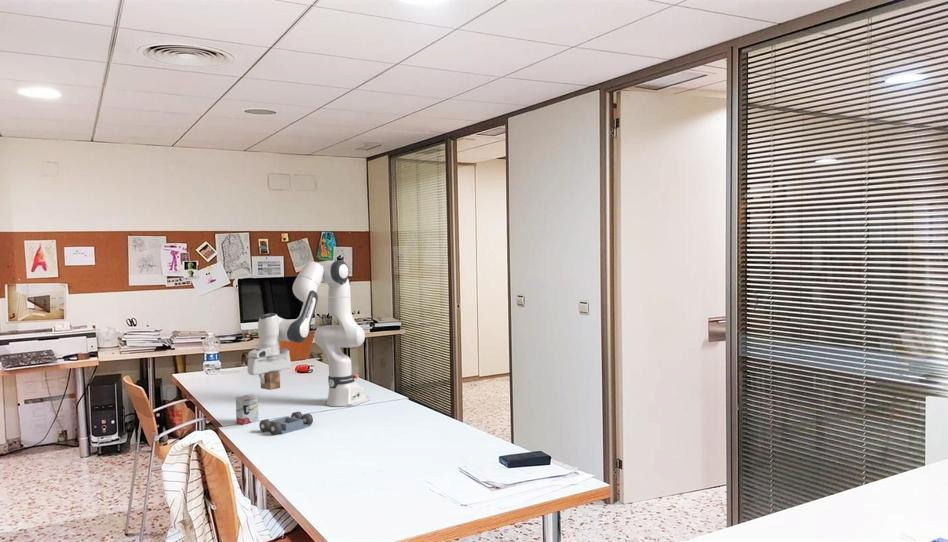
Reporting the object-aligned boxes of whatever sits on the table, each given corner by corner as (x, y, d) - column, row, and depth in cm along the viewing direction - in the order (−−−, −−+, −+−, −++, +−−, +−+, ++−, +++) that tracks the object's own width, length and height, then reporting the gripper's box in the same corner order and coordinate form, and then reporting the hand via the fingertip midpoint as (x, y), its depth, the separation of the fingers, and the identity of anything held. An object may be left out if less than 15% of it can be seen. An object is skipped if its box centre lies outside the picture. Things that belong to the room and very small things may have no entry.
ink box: (242, 425, 298) (241, 398, 298) (235, 423, 301) (235, 397, 301) (259, 421, 305) (258, 395, 305) (252, 419, 308) (251, 393, 308)
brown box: (270, 386, 301) (269, 368, 301) (280, 387, 297) (279, 370, 297) (260, 388, 297) (260, 370, 297) (270, 389, 293) (269, 372, 293)
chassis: (296, 421, 302) (295, 410, 302) (313, 425, 295) (313, 414, 295) (258, 431, 287) (258, 419, 287) (276, 435, 280) (276, 423, 280)
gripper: (284, 347, 307) (285, 377, 307) (244, 353, 290) (246, 385, 291) (293, 348, 303) (294, 378, 303) (253, 354, 287) (254, 386, 287)
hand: (270, 382), depth 297 cm, fingers closed on brown box, 5 cm apart
